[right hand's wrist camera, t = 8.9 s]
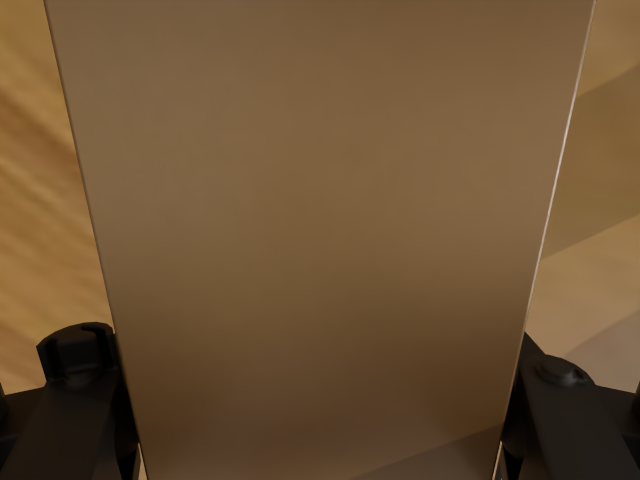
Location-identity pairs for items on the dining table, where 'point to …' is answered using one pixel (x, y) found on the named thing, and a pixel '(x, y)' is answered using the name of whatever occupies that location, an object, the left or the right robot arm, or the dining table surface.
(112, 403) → the right robot arm
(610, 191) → the dining table surface
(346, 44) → the box
